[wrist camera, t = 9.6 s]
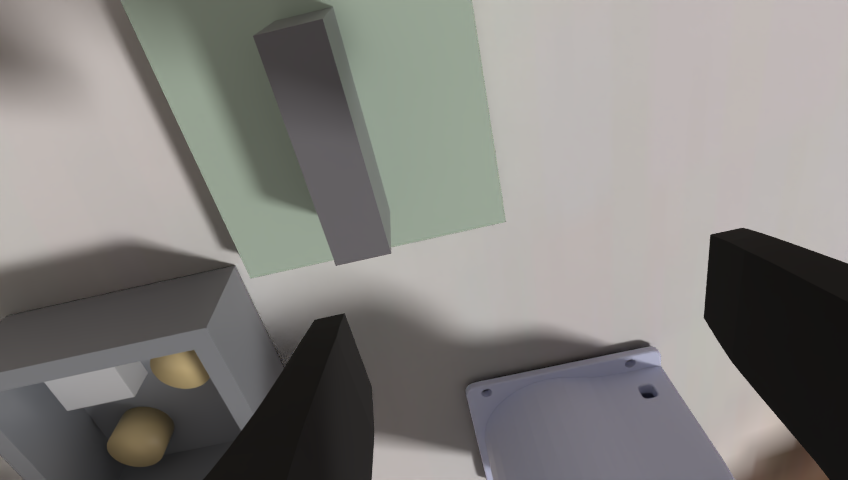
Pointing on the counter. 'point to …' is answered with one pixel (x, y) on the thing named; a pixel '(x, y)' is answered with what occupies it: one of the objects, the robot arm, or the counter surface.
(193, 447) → the tub
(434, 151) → the lid
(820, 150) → the counter surface
